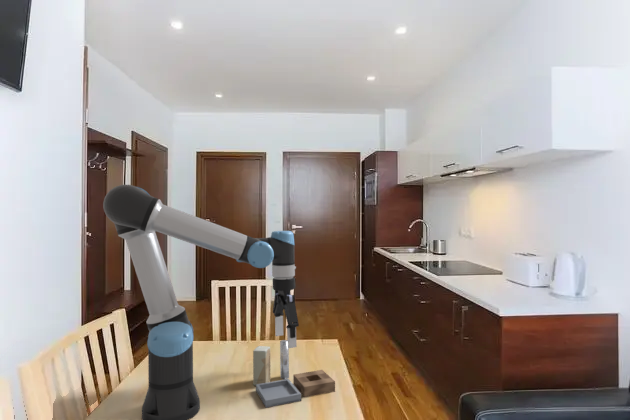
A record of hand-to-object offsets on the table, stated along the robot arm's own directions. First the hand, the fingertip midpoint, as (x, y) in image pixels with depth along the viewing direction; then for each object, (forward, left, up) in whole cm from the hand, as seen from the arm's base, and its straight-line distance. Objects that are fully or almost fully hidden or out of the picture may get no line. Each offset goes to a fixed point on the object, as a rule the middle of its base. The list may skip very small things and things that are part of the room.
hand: (285, 341), depth 136 cm
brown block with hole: (+6, -11, -12) cm, 17 cm away
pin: (0, 0, -12) cm, 12 cm away
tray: (-6, -12, -12) cm, 18 cm away
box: (-8, -1, -12) cm, 15 cm away
